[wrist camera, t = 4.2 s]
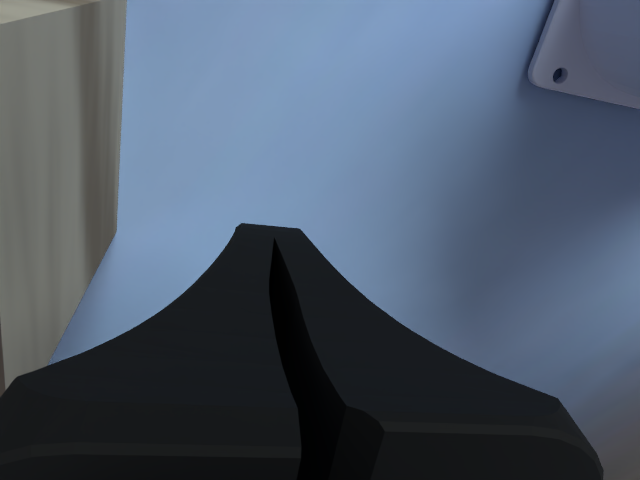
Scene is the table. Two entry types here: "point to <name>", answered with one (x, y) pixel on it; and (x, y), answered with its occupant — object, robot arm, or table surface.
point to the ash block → (55, 165)
